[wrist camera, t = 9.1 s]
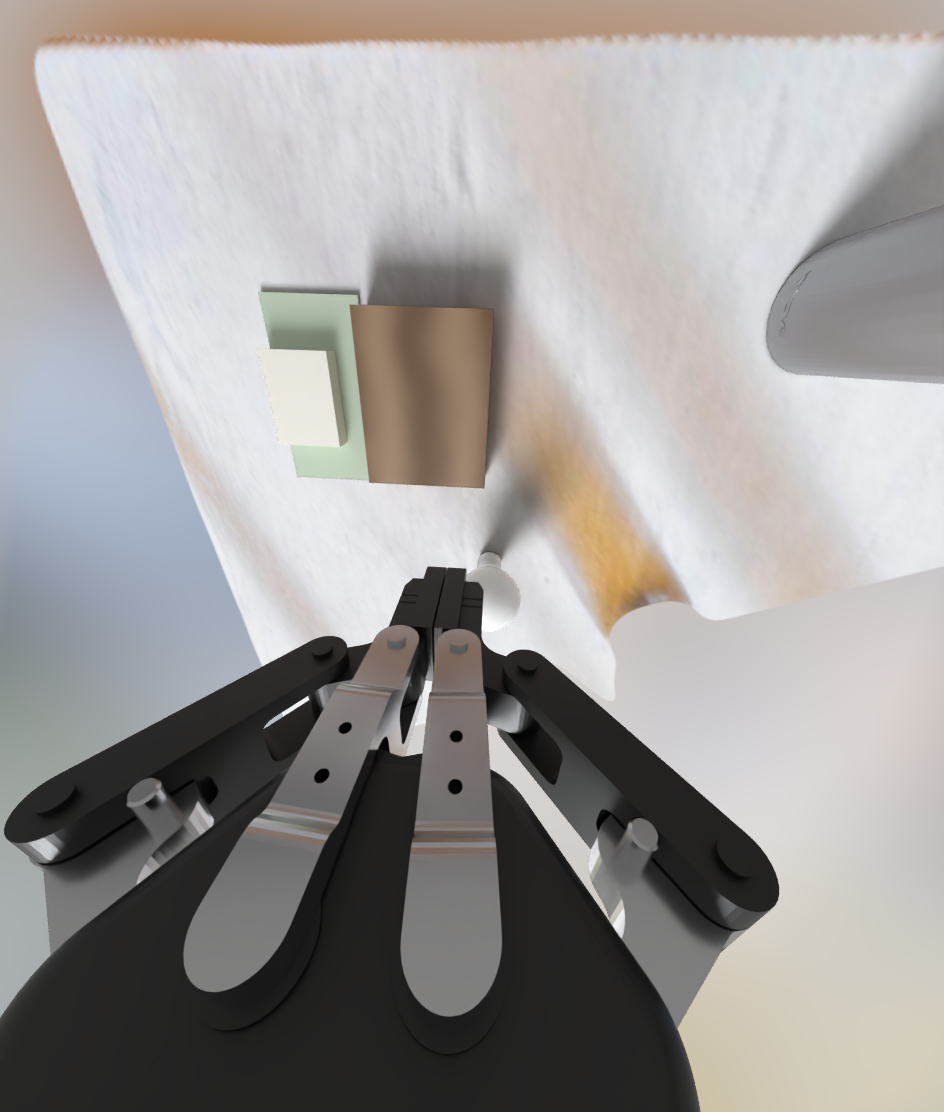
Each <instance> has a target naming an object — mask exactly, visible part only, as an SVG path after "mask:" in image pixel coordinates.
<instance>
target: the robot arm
mask: <svg viewBox="0 0 944 1112" xmlns="http://www.w3.org/2000/svg"><path fill="white" fill-rule="evenodd" d="M766 340H767V347H768V350H769V353H770V355H771V357H772V359H773V360H774V361H775V363H776V364H777V365H778V366H779V367H781V368H782V369H784V370H785V371H787V372H791V373H794V374H801V375H816V376H831V377H842V378H858V379H874V380H889V381H905V382H920V383H936V384H944V205H942V206H939V207H936V208H933V209H930V210H927V211H924V212H921V213H918V214H915V215H912V216H909V217H906V218H903V219H900V220H897V221H894V222H891V223H888V224H885V225H882V226H879V227H876V228H873V229H870V230H867V231H864V232H861V233H858V234H855V235H852V236H849V237H846V238H843V239H840V240H838V241H836V242H833V243H831V244H829V245H827V246H825V247H823V248H822V249H820V250H819V251H817V252H816V253H814V254H812V255H811V256H810V257H809V258H808V259H807V260H806V261H804V262H803V263H802V264H801V265H800V266H799V267H798V268H797V269H796V270H795V271H794V272H793V274H792V275H791V276H790V277H789V278H788V279H787V281H786V282H785V284H784V285H783V287H782V289H781V290H780V292H779V293H778V295H777V297H776V299H775V301H774V304H773V306H772V308H771V311H770V315H769V318H768V322H767V331H766ZM483 595H484V590H483V588H482V587H481V585H480V583H479V582H468V581H466V569H463V568H445V567H427V570H426V573H425V576H424V579H417V578H413V579H412V580H411V581H410V582H409V583H407V584H406V585H405V587H404V590H403V592H402V596H401V597H400V600H399V603H398V605H397V607H396V610H395V612H394V615H393V617H392V620H391V622H390V625H389V627H387V628H385V629H383V630H382V631H380V632H379V633H378V634H377V636H376V637H375V639H374V641H373V642H372V643H369V644H365V645H360V646H354V647H349V648H347V644H346V642H345V641H344V640H343V639H341V638H339V637H335V636H325V637H320V638H317V639H314V640H312V641H310V642H308V643H306V644H304V645H302V646H301V647H299V648H297V649H295V650H293V651H291V652H289V653H287V654H285V655H283V656H282V657H280V658H278V659H276V660H274V661H272V662H270V663H268V664H266V665H265V666H263V667H261V668H259V669H257V670H255V671H253V672H251V673H249V674H248V675H246V676H244V677H242V678H240V679H238V680H236V681H234V682H233V683H231V684H229V685H227V686H225V687H223V688H221V689H219V690H217V691H215V692H214V693H212V694H210V695H208V696H206V697H204V698H202V699H200V700H198V701H196V702H195V703H193V704H191V705H189V706H187V707H185V708H183V709H181V710H179V711H178V712H176V713H174V714H172V715H170V716H168V717H166V718H164V719H163V720H161V721H159V722H157V723H155V724H153V725H151V726H149V727H147V728H146V729H144V730H142V731H140V732H138V733H136V734H134V735H132V736H130V737H128V738H127V739H125V740H123V741H121V742H119V743H117V744H115V745H114V746H111V747H110V748H108V749H106V750H104V751H102V752H100V753H98V754H96V755H94V756H92V757H91V758H89V759H87V760H85V761H83V762H81V763H79V764H78V765H76V766H74V767H72V768H70V769H68V770H66V771H65V772H62V773H60V774H59V775H57V776H55V777H53V778H51V779H50V780H48V781H46V782H45V783H43V784H42V785H40V786H39V787H37V788H36V789H35V790H34V791H32V792H31V793H30V794H29V795H27V797H25V798H24V799H23V800H22V801H21V802H20V803H19V804H18V805H17V807H16V808H15V809H14V810H13V812H12V813H11V815H10V816H9V818H8V820H7V822H6V824H5V828H4V834H5V836H6V838H7V839H8V840H9V841H10V842H11V843H12V844H14V845H15V846H16V847H18V848H19V849H20V850H21V851H23V852H24V853H25V854H26V855H28V856H29V859H30V861H31V862H32V863H33V864H34V865H35V866H36V867H38V868H39V869H40V870H42V871H43V872H44V881H45V894H46V905H47V917H48V929H49V940H50V952H51V956H50V957H49V958H48V959H47V960H46V961H45V962H44V963H43V964H42V965H41V966H40V967H39V969H38V970H37V971H36V972H35V973H34V974H33V975H32V976H31V977H30V979H29V980H28V981H27V982H26V984H25V985H24V986H23V988H22V989H21V990H20V991H19V992H18V993H17V995H16V996H15V998H14V999H13V1000H12V1002H11V1003H10V1005H9V1006H8V1007H7V1009H6V1010H5V1011H4V1013H3V1015H2V1016H1V1018H0V1112H700V1106H699V1101H698V1096H697V1091H696V1086H695V1082H694V1078H693V1074H692V1070H691V1067H690V1063H689V1060H688V1057H687V1054H686V1051H685V1048H684V1045H683V1042H682V1040H681V1037H680V1035H679V1032H678V1030H677V1028H678V1026H679V1024H680V1023H681V1021H682V1019H683V1017H684V1016H685V1014H686V1012H687V1010H688V1008H689V1007H690V1005H691V1003H692V1002H693V1000H694V998H695V996H696V994H697V993H698V991H699V989H700V987H701V986H702V984H703V982H704V981H705V979H706V977H707V975H708V973H709V972H710V970H711V968H712V967H713V965H714V963H715V961H716V959H717V958H718V956H719V954H720V953H721V952H722V951H723V950H724V949H725V948H726V947H728V946H729V945H730V944H731V943H732V942H733V941H735V940H736V939H737V938H738V937H739V936H740V935H741V934H743V933H744V932H745V931H746V930H747V929H749V928H750V927H751V926H752V925H753V924H754V923H756V922H757V921H758V920H759V919H760V918H761V917H763V916H764V915H765V914H766V913H767V912H768V911H769V910H771V908H773V907H774V906H775V905H776V903H777V901H778V897H779V884H778V879H777V877H776V873H775V871H774V869H773V866H772V864H771V863H770V861H769V859H768V858H767V856H766V855H765V853H764V852H763V851H762V849H761V848H760V847H759V846H758V845H757V843H756V842H755V841H754V840H753V839H751V837H750V836H748V835H747V834H746V833H745V832H744V831H743V830H742V829H740V828H739V827H738V826H737V825H736V824H735V823H733V822H732V821H731V820H730V819H729V818H728V817H727V816H726V815H724V814H723V813H722V812H721V811H720V810H719V809H718V808H716V807H715V806H714V805H713V804H712V803H711V802H709V801H708V800H707V799H706V798H705V797H703V795H701V794H700V793H699V792H698V791H697V790H696V789H695V788H694V787H692V786H691V785H690V784H689V783H688V782H686V781H685V780H684V779H683V778H682V777H681V776H680V775H679V774H677V773H676V772H675V771H674V770H673V769H672V768H671V767H669V766H668V765H667V764H666V763H665V762H664V761H662V760H661V759H660V758H659V757H658V756H657V755H656V754H655V753H653V752H652V751H651V750H650V749H649V748H648V747H646V746H645V745H644V744H643V743H642V742H641V741H639V740H638V739H637V738H636V737H635V736H634V735H633V734H632V733H631V732H629V731H628V730H627V729H626V728H625V727H624V726H623V725H621V724H620V723H619V722H618V721H617V720H616V719H615V718H613V717H612V716H611V715H610V714H609V713H608V712H606V711H605V710H604V709H603V708H602V707H601V706H600V705H598V704H597V703H596V702H595V701H594V700H593V699H592V698H590V697H589V696H588V695H587V694H586V693H585V692H584V691H582V690H581V689H580V688H579V687H578V686H577V685H575V684H574V683H573V682H572V681H571V680H570V679H569V678H568V677H566V676H565V675H564V674H563V673H562V672H561V671H560V670H558V669H557V668H556V667H555V666H554V665H553V664H552V663H550V662H549V661H548V660H547V659H546V658H545V657H543V656H542V655H541V654H539V653H537V652H534V651H531V650H517V651H514V652H511V653H510V654H508V655H507V656H503V655H500V654H498V653H495V652H493V651H491V650H490V649H489V648H488V647H487V646H486V645H485V644H484V643H483V641H482V637H481V633H482V614H483ZM425 680H429V681H433V682H432V691H431V692H430V694H429V700H428V709H427V718H426V728H425V737H424V746H423V753H422V754H416V755H411V756H406V752H407V748H408V745H409V742H410V738H411V735H412V732H413V728H414V725H415V722H416V719H417V715H418V712H419V709H420V706H421V702H422V692H423V689H424V684H425ZM307 696H308V697H309V701H307V702H306V703H304V704H302V705H301V706H299V707H298V708H296V709H295V710H293V711H292V712H290V713H288V714H287V715H285V716H284V717H282V718H281V719H279V720H278V721H276V722H274V723H273V724H271V725H270V726H268V727H266V728H265V729H263V728H264V726H265V725H266V724H267V723H268V722H269V721H270V720H271V719H272V718H274V717H275V716H277V715H278V714H280V713H282V712H283V711H285V710H286V709H288V708H290V707H291V706H293V705H294V704H296V703H297V702H299V701H301V700H302V699H304V698H305V697H307ZM487 724H489V725H492V726H495V727H497V730H498V733H499V735H500V737H501V738H502V739H503V740H504V742H505V743H506V744H507V746H508V747H509V748H510V749H511V751H512V752H513V753H514V754H515V756H517V758H518V759H519V760H520V762H521V763H522V764H523V765H524V767H525V768H526V769H527V770H528V772H529V773H530V774H531V775H532V777H533V778H534V779H535V780H536V781H537V783H538V784H539V785H540V787H541V788H542V789H543V790H544V792H545V793H546V794H547V795H548V797H549V798H550V799H551V800H552V801H553V803H554V804H555V805H556V807H557V808H558V809H559V810H560V812H561V813H562V814H563V815H564V817H565V818H566V819H567V820H568V822H569V823H570V824H571V825H572V827H573V828H574V829H575V830H576V832H577V833H578V834H579V835H580V837H581V838H582V839H583V840H584V842H585V843H586V844H587V845H588V846H589V848H590V849H591V851H590V854H589V860H588V868H589V874H590V878H591V881H592V884H593V886H594V888H595V890H596V892H597V893H598V895H599V897H600V898H601V900H602V902H603V904H604V906H605V908H606V910H607V913H608V916H609V919H610V922H609V920H608V919H607V917H606V916H605V915H604V913H603V912H602V910H601V909H600V907H599V906H598V904H597V903H596V901H595V900H594V899H593V897H592V896H591V894H590V893H589V891H588V890H587V889H586V887H585V886H584V884H583V883H582V881H581V880H580V878H579V877H578V876H577V874H576V873H575V871H574V870H573V869H572V867H571V866H570V864H569V863H568V861H567V860H566V859H565V857H564V856H563V854H562V853H561V851H560V850H559V848H558V847H557V845H556V844H555V843H554V841H553V840H552V839H551V837H550V836H549V834H548V833H547V831H546V830H545V828H544V827H543V825H542V824H541V822H540V821H539V820H538V818H537V817H536V815H535V814H534V812H533V811H532V809H531V808H530V807H529V805H528V804H527V802H526V801H525V800H524V798H523V797H522V795H521V794H520V793H519V792H518V790H517V789H516V788H515V787H514V786H513V785H512V784H511V783H510V782H509V781H507V780H506V779H505V778H504V777H502V776H501V775H500V774H498V773H496V772H495V771H493V770H491V769H490V760H489V743H488V726H487Z"/></svg>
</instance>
